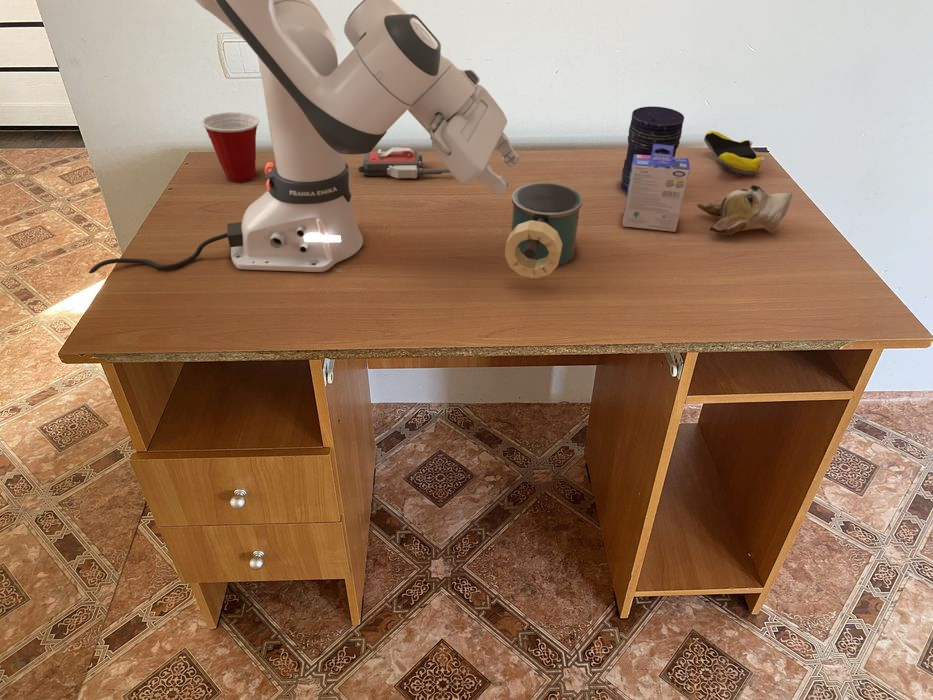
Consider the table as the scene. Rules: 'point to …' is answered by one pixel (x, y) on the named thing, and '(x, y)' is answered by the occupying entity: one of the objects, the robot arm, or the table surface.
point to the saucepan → (547, 216)
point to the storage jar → (651, 135)
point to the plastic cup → (234, 143)
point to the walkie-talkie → (396, 163)
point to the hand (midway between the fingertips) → (510, 175)
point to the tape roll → (534, 232)
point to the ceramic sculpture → (748, 210)
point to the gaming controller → (733, 154)
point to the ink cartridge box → (656, 190)
